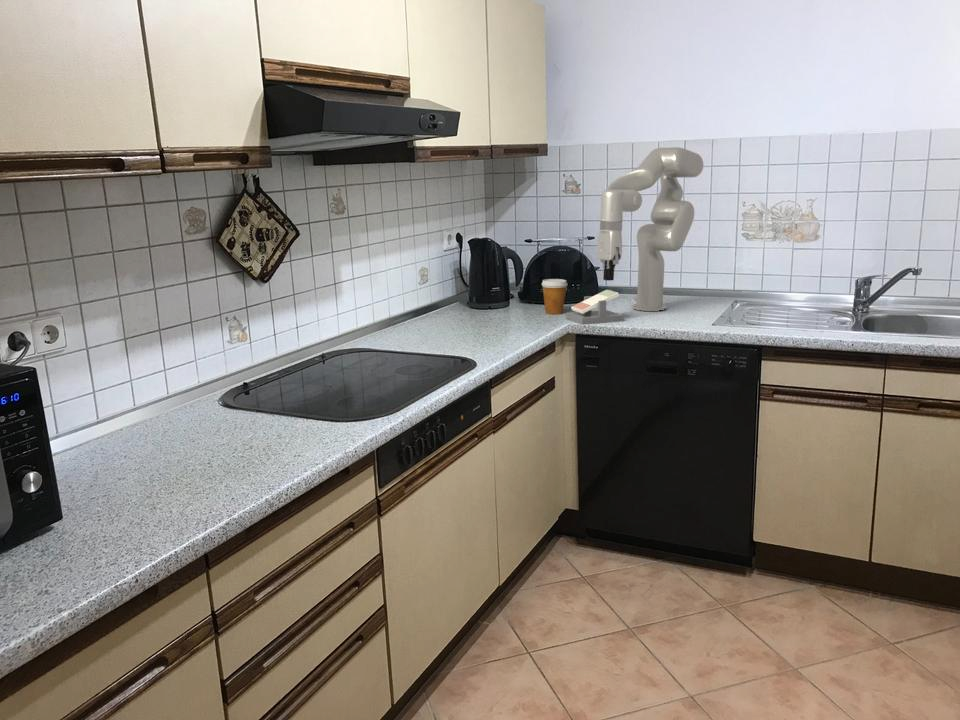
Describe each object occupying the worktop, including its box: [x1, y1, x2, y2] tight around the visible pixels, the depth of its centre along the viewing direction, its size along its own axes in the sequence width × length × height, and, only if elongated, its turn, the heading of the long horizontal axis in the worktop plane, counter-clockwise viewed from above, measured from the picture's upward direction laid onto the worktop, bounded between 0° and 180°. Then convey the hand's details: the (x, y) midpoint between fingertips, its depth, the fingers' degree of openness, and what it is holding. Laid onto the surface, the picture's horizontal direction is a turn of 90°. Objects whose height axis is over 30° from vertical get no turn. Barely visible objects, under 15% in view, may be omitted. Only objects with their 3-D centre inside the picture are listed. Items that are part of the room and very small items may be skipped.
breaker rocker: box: [570, 289, 620, 314], centre depth 273 cm, size 8×15×1 cm, turn 111°
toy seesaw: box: [565, 295, 624, 325], centre depth 273 cm, size 12×16×8 cm
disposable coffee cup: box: [541, 278, 568, 315], centre depth 287 cm, size 10×10×12 cm
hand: (608, 280), depth 272 cm, fingers closed
